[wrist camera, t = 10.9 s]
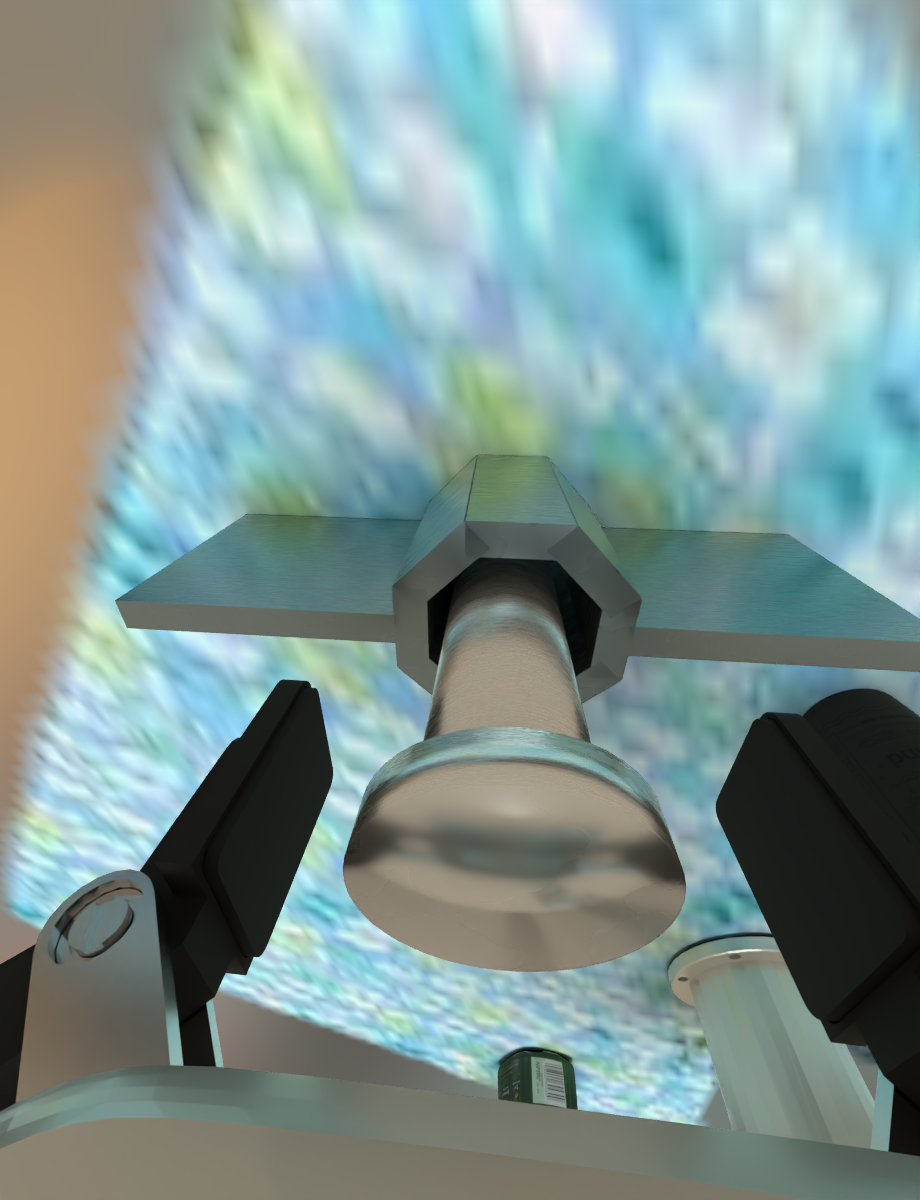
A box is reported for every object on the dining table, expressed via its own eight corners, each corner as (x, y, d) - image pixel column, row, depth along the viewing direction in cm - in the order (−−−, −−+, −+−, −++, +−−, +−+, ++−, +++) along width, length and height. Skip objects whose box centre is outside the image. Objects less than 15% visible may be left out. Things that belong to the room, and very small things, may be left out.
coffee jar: (546, 1078, 56) (565, 1370, 40) (489, 1064, 55) (486, 1358, 39) (584, 1057, 51) (624, 1379, 35) (524, 1041, 50) (536, 1365, 34)
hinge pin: (568, 481, 18) (736, 803, 5) (553, 590, 21) (642, 985, 8) (445, 477, 19) (319, 771, 6) (445, 584, 21) (361, 955, 8)
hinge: (817, 464, 17) (1031, 542, 10) (756, 613, 21) (885, 745, 14) (230, 447, 19) (72, 505, 12) (264, 589, 22) (158, 698, 15)
